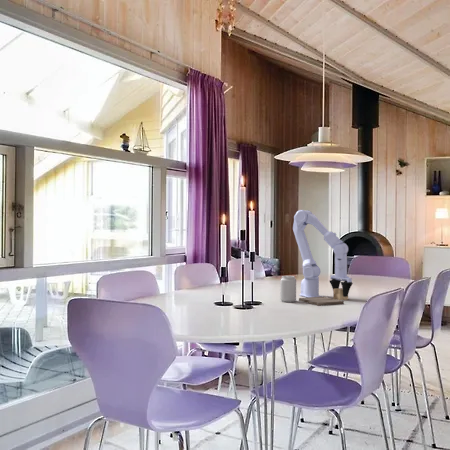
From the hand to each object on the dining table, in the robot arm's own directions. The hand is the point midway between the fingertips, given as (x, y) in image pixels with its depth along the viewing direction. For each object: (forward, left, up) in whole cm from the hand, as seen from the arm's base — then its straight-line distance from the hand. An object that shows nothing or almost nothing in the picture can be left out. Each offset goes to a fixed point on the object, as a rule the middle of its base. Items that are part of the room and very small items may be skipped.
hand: (340, 295), depth 244 cm
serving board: (+5, -15, -2) cm, 16 cm away
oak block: (0, 0, -2) cm, 2 cm away
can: (-3, -28, -2) cm, 28 cm away
